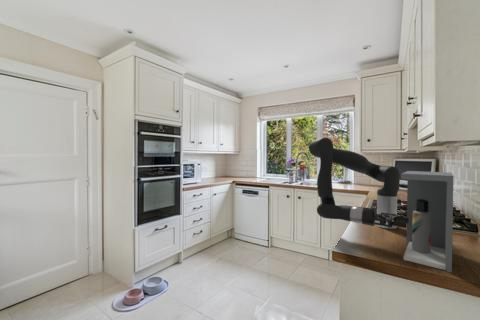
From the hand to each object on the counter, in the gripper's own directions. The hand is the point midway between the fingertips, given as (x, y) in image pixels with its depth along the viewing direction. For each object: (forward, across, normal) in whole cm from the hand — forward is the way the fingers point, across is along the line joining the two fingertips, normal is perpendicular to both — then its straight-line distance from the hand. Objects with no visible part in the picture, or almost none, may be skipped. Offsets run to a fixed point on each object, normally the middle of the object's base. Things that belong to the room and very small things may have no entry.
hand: (407, 222), depth 91 cm
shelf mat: (+6, -1, +12) cm, 13 cm away
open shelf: (+6, 0, +12) cm, 13 cm away
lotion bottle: (+4, 0, +10) cm, 11 cm away
